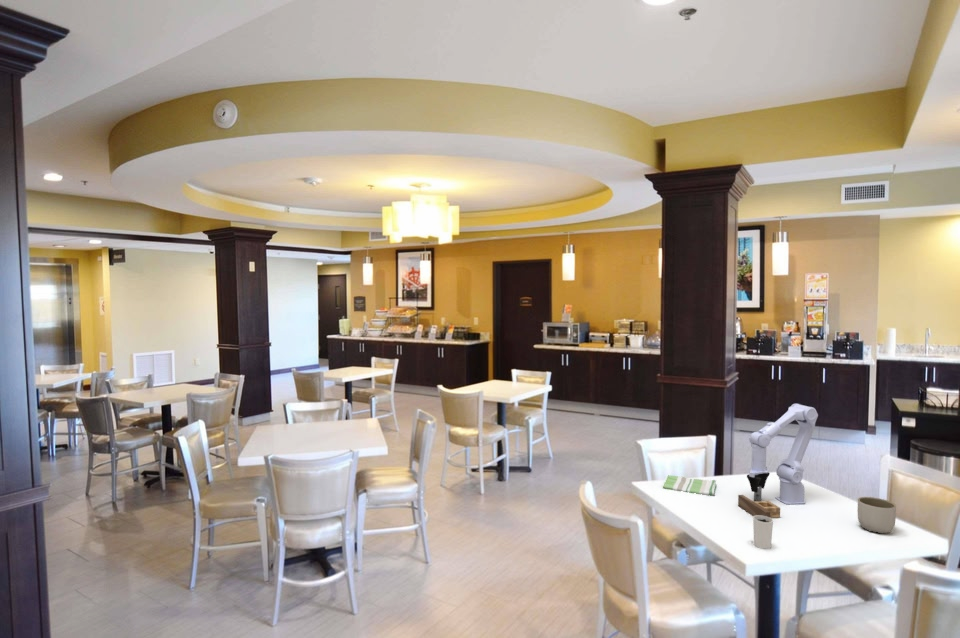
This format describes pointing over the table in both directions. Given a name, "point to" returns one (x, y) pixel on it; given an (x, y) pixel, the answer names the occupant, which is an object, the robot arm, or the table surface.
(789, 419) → the robot arm
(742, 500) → the wooden plank
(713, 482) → the dish towel
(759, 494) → the dowel
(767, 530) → the white cup
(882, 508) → the planter
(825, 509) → the table surface
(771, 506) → the block
